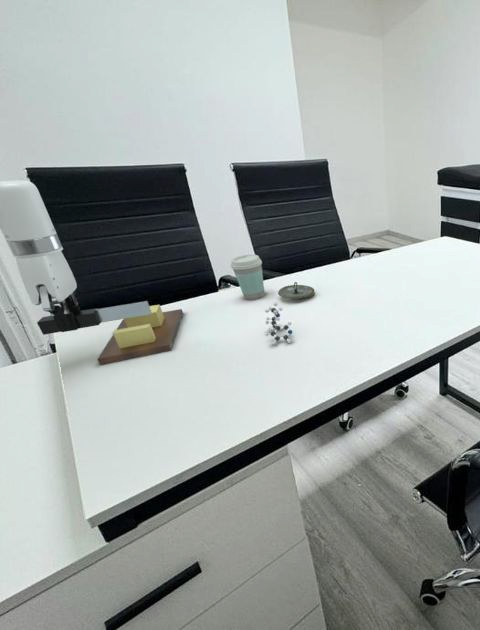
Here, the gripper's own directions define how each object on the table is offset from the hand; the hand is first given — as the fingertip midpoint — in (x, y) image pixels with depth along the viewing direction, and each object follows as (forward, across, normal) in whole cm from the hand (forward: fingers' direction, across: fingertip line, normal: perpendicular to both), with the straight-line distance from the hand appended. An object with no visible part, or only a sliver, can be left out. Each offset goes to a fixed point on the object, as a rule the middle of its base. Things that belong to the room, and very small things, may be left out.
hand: (72, 326), depth 85 cm
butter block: (+6, -9, +11) cm, 16 cm away
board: (+8, -6, +11) cm, 14 cm away
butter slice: (+6, +1, +11) cm, 13 cm away
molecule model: (+7, +9, +42) cm, 43 cm away
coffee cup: (+7, -21, +37) cm, 43 cm away
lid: (+7, -14, +49) cm, 51 cm away
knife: (0, 0, +5) cm, 5 cm away
